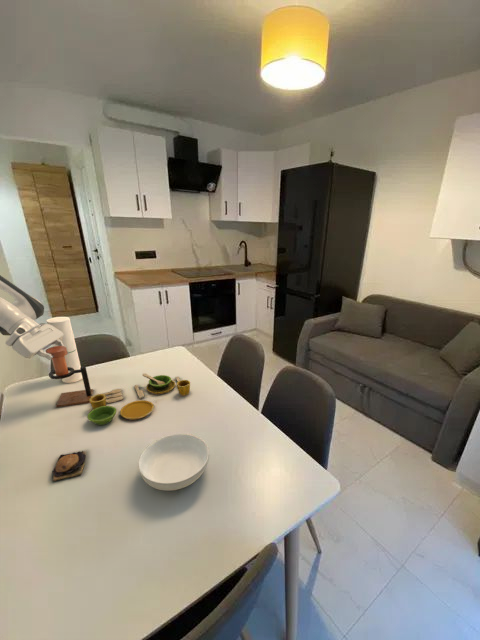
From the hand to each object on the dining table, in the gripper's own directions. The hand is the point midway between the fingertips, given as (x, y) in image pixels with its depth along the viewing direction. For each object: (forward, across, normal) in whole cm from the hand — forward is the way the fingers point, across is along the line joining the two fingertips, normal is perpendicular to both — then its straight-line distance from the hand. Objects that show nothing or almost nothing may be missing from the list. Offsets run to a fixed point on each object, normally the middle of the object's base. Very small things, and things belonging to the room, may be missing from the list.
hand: (58, 353), depth 116 cm
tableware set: (+37, 0, +6) cm, 37 cm away
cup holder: (+16, -1, -14) cm, 22 cm away
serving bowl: (+54, +39, +23) cm, 70 cm away
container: (+9, -18, -22) cm, 30 cm away
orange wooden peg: (+6, 0, -7) cm, 9 cm away
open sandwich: (+30, +37, -1) cm, 48 cm away
